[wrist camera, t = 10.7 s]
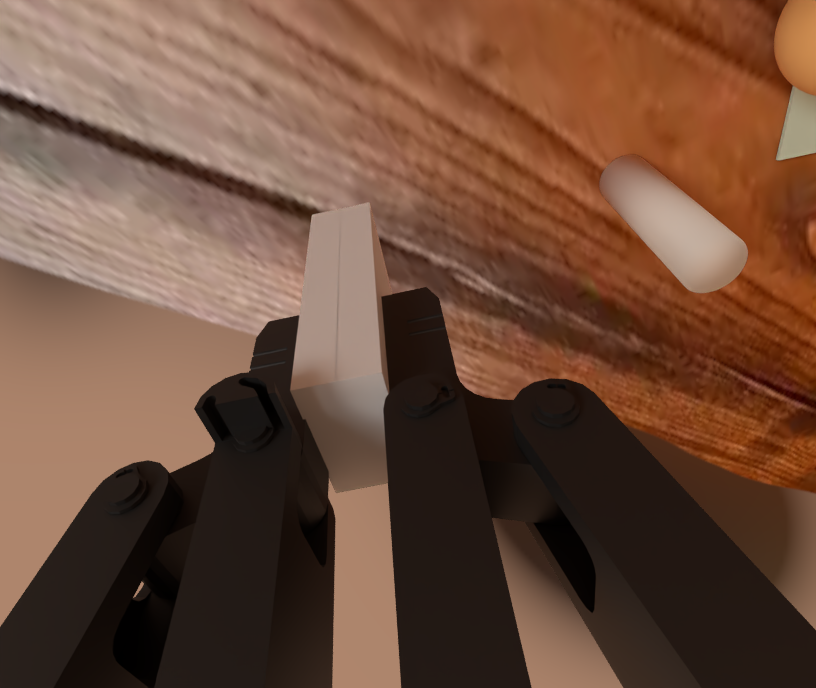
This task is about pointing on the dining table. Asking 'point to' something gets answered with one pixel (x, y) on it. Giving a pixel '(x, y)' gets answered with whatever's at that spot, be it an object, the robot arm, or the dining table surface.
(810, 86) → the ball
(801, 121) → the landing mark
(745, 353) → the dining table surface
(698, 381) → the dining table surface
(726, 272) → the post
